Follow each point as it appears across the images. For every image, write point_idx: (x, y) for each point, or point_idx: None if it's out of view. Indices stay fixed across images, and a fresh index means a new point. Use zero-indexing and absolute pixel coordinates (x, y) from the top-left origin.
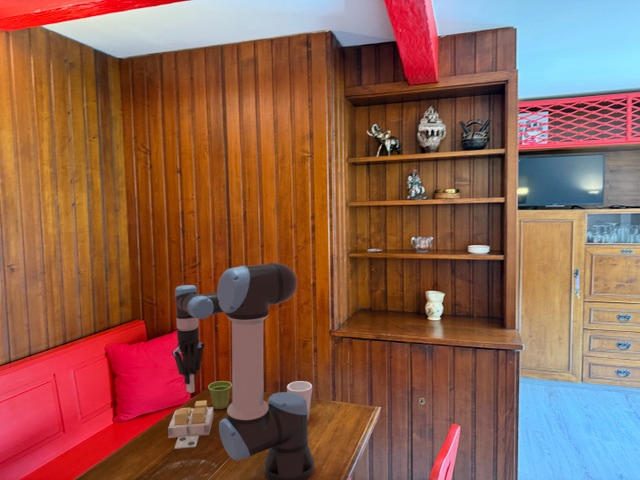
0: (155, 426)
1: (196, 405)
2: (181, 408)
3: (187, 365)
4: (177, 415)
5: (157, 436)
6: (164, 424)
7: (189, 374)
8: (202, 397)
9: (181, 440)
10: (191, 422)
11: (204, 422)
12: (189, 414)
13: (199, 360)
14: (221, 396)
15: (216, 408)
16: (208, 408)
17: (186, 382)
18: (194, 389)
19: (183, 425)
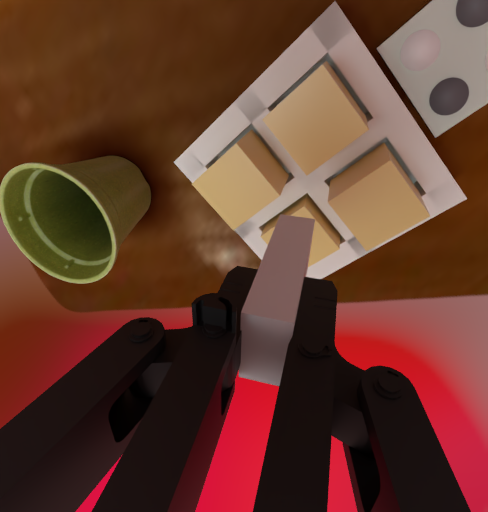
0: (385, 298)
1: (269, 190)
2: None
3: (317, 495)
4: (419, 201)
5: (456, 235)
6: (355, 279)
7: (306, 340)
8: (130, 296)
9: (467, 88)
10: None
11: None
12: (301, 203)
13: (45, 431)
14: (98, 176)
15: (146, 183)
16: (198, 171)
17: (336, 302)
18: (278, 222)
19: (406, 145)
